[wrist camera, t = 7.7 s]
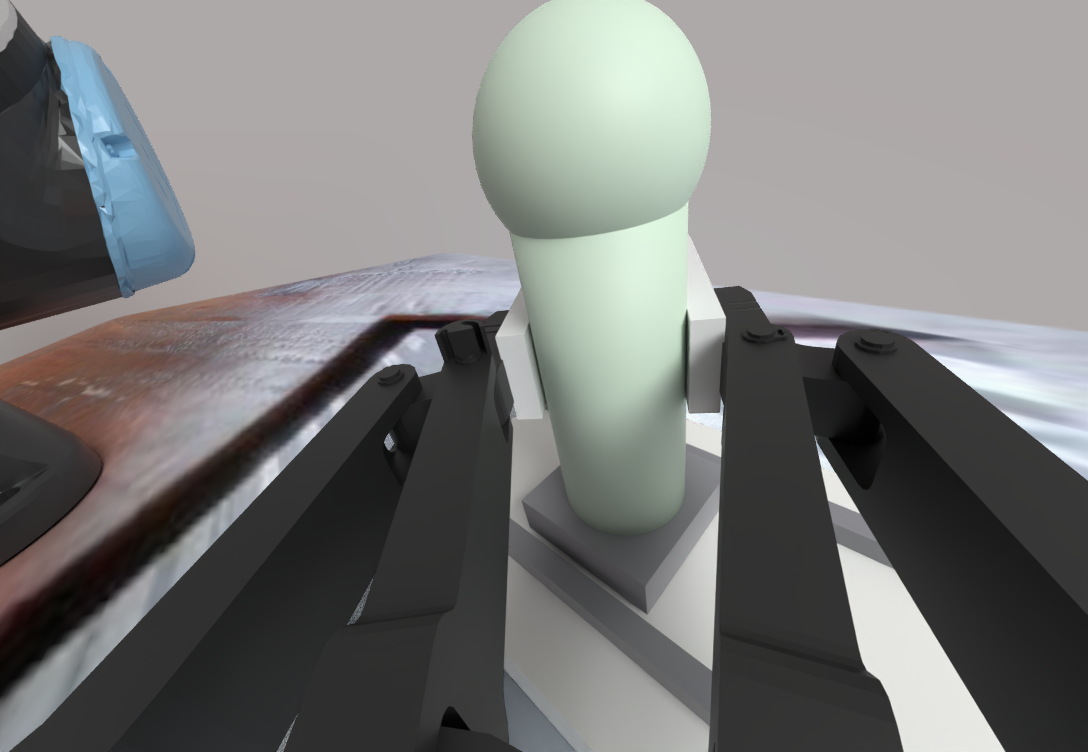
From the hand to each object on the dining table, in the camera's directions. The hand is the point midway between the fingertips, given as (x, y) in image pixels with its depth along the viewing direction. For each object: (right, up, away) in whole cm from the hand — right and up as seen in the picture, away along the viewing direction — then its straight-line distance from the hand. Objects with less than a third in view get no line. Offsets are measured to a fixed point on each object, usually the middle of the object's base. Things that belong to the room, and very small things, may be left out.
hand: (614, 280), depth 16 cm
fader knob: (0, -9, -1) cm, 9 cm away
